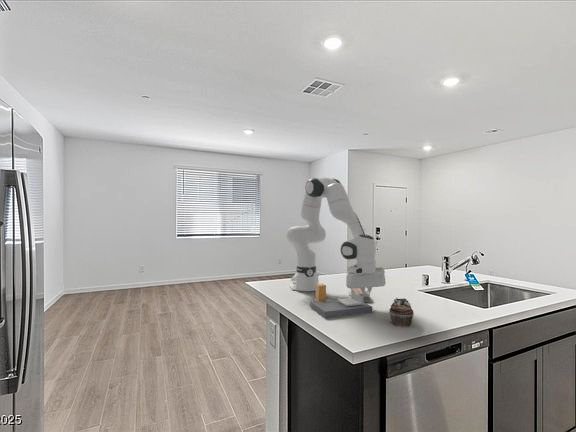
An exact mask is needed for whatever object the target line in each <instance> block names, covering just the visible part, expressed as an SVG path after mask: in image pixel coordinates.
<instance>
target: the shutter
mask: <svg viewBox="0 0 576 432" xmlns="http://www.w3.org/2000/svg"><path fill="white" fill-rule="evenodd" d="M336 300H337V301H338V302H340V303H342V304H344V305H345V306H353V305H363V304H364V303H365V302H364V297H363V296H361V295H359V294H357V293H354V292H352V298H351V297H348V298H338V299H337V298H336Z"/></svg>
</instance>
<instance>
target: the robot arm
mask: <svg viewBox="0 0 576 432" xmlns="http://www.w3.org/2000/svg"><path fill="white" fill-rule="evenodd" d="M324 198H325V199H326V200H327V204H328V205H327V206H328V208H329V212H330V214H331V216H332V217H333V218H335V219H337V220H338V221H341V222H343V223H344V224H346V225H347V226H348V227H349V229H350V231H351V234H352V236H353V237H352V238H353V239H350V240H347V241H344V242H342V243H341V246H340V254H341V256H342V257H343V259H345V260H349V261H350V260H356V263H355V264H353V265H351V266H349V267H347V272H348V273H347V275H346V280H345V281H346V284H345V286H346V288H348V289H350V290H351V289H356V288H361V291H362V293H363V297H369V296H370V297H371V295H370V294H371V292H372V289H373V288H378V287H385V286H386V275H385V268H383V267H377V266H376V265H377V264H376V241H375V238H374V237H373V236H371V235H370V234H369V235H368V234H365V230H364V228H363V226H362V223H361V222H360V220H359V217H358V215H357V214H356V212H355V211H354V209H353V208H352V204H351V203H350V199H349V197H348V194H347V191H346V189H345V187H344V185H343V183H341V181H340V180H339V179H336V178H330V177H319V178H318V177H317V178H316V177H313V178H310V179H308V180H307V181H306V183H305V192H304V194H303V199H302V205H301V209H300V210H301V211H300V216H301V218H302V219H303V220H305V221H306V225H294V226H291V227H289V228H288V229H287V231H286V238H287V241H288V242H289V243H291V245H293V247H294V249H295V252H296V257H297V258H296V259H297V260H296V261H297V266H296V270H295V271H296V272H295V274H294V275H293V276H292V277H291V278H290V281H291V282H290V283H289V284H288V285H289V287H290V289H291V291H299V292H316V284H320V282H319V275H318V274H317V266H316V253H315V252H314V251H313V250H312V249H310V248H309V244H317V243H322V242H324V240H325V239H326V230H325V228H324V227H323V226H322V225H321V222H320V212H321V206H322V201H323V199H324ZM366 289H367V290H366ZM364 290H365V291H366V292H365V291H364Z"/></svg>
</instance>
